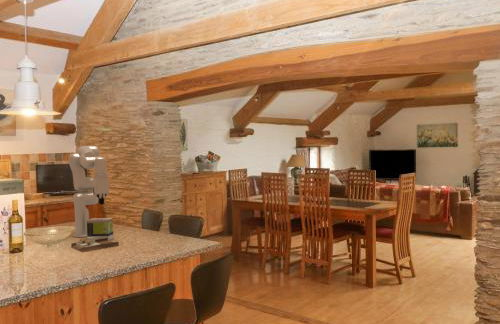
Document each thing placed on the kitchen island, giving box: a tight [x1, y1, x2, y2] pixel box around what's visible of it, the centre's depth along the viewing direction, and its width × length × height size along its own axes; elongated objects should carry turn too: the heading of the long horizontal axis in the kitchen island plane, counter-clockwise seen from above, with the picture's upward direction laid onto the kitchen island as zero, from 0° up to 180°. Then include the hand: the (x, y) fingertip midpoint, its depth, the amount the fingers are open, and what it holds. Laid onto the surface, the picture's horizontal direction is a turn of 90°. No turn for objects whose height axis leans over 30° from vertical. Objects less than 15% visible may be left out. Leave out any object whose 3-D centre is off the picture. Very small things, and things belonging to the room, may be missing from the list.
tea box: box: [86, 217, 114, 241], centre depth 317 cm, size 15×10×15 cm
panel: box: [75, 237, 100, 247], centre depth 293 cm, size 14×10×5 cm
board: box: [70, 237, 120, 253], centre depth 297 cm, size 18×24×5 cm
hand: (101, 204), depth 299 cm, fingers closed
